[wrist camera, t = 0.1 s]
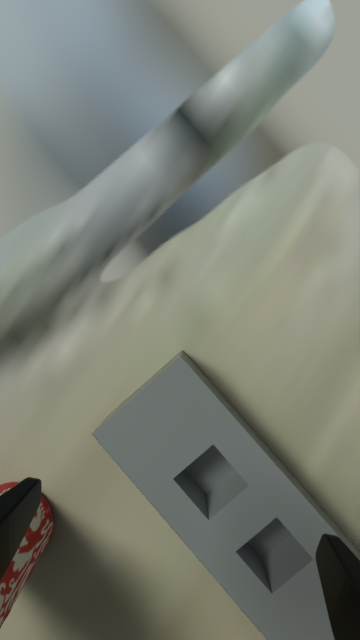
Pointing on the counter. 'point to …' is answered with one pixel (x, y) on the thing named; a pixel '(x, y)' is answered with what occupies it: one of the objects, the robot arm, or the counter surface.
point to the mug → (25, 554)
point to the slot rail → (225, 498)
